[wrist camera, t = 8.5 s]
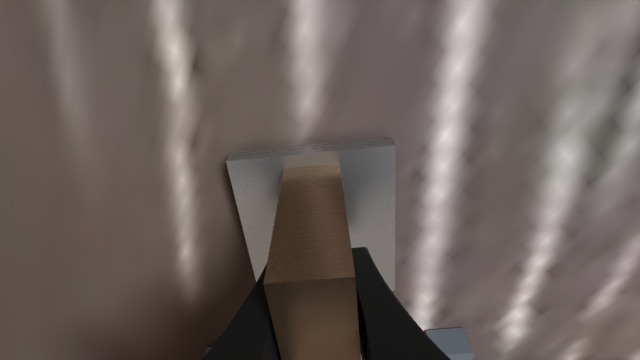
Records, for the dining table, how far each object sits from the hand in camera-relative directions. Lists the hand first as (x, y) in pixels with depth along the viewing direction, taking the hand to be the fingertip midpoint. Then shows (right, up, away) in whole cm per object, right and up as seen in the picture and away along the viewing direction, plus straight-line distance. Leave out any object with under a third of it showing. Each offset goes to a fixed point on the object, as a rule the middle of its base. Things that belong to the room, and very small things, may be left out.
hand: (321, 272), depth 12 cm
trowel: (0, +2, +2) cm, 3 cm away
